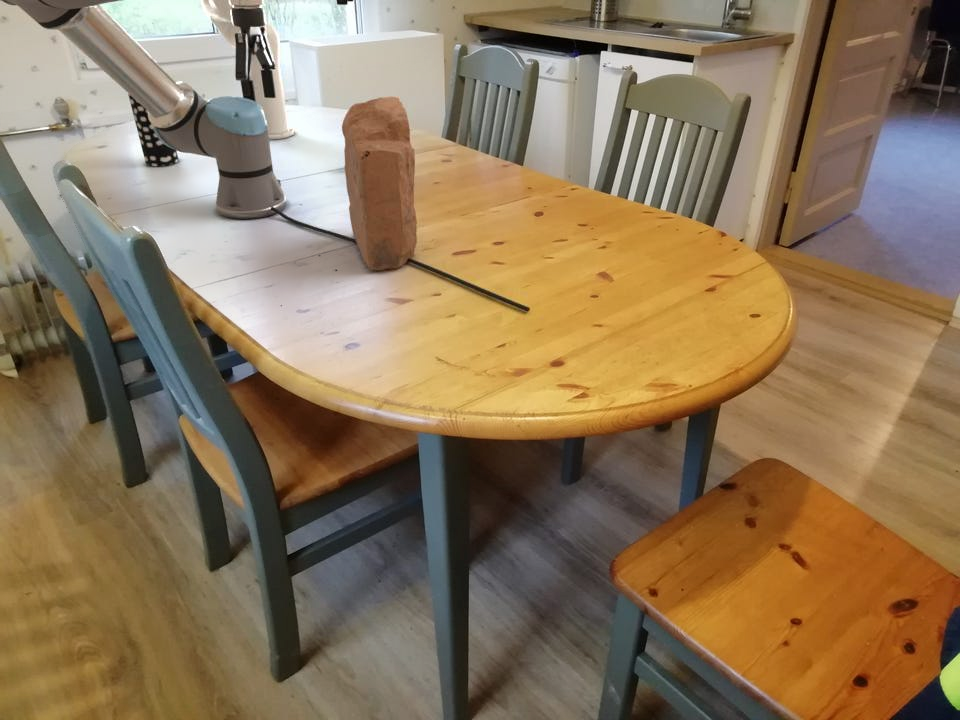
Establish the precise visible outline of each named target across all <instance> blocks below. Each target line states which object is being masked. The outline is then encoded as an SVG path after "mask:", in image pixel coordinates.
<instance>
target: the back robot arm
mask: <svg viewBox="0 0 960 720" xmlns="http://www.w3.org/2000/svg"><path fill="white" fill-rule="evenodd" d="M348 2H350V3H351V2H354V0H336V5H337V6H347V5H348V4H349V3H348ZM201 6H202V9H203V11H204V13H205V15H206V16H207V18H208V19H209V21H211V23H212V24H213V26H214V27H215V28H216V29H217V31H218V32H219V33H220V35H221V36H222V37H223V38H224V39H225V41H226V42H227V43H228V44H229V45H230V46H231V48H233V49H234V50H235V51H236V42H235V33H241V32H240V30H241V29H240V27H236V26H234V25H233V23H232V17H231V11H230V10H231V8H233V6H231V5H230V3H229V0H201ZM261 27H265V29H266V35H267V39H268V42H269V45H270V49H271V52H272V55H273V58H274V62H275V66H276V69H275V70H272V69H271V70H272V72H273V80H274V87H275V94H276V98H265V97H264V90H263V83H262V76H261V70H264V69H262V67H261V65H260V63H259V61H258V59H257V57H256V54H255V55H254V57H253V65H252V74H251V80H253V84H254V91H255V97H256V103H258V104H259V105H260V106H261V107H262V109H263V111H264V116H265V120H266V122H267V130H268V137H269V141H270V140H281V139H286V138H290V137H292V136H293V135H294V134H295V129H294V128H293V127H291V126H289V124H288V116H287V109H286V100H285V93H284V87H283V80H282V73H281V61H280V60H281V59H280V58H281V55H280V54H281V43H280V36H279V34H278V32H277V30H276V29H275V28H274V27H273V26H272V25H271V24H270V23H268V22H266V25H265V26H261Z"/></svg>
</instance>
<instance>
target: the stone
mask: <svg viewBox="0 0 960 720" xmlns="http://www.w3.org/2000/svg"><path fill="white" fill-rule="evenodd" d="M403 105H404V104H403V102H401V101H400V98H399V97H398V96H397V97H396V96H385V97H384V96H383V97H377V98H374V99H369V100H367V101H365V102H357V103H354V104H353V105H351V107H349V109H348V110H347V112H346V114H345V116H344V118H343V120H342V124H341V132H342V135H343V137H344V150H343V151H344V152H343V153H344V173H345V182H346V192H347V196H348V200H349V206H348V212H349V220H350V225H351V230H352V234H353V237H354V239H356V242H357V243H356V245H357V247H358V249H359V251H360V255H361V258H362V260H363V261H364V263H365V264H366V266H367V268H368V269H369V270H370V271H384V270H385V269H386V270H387V269H398V268H400V267H403V266H404V265H405V264H406V263H407V260H408V258H410V259H413V258H414V257H415V250H416V246H417V243H418V236H417V233H418V232H417V231H418V229H417V227H418V226H417V224H418V222H417V216H416V215H417V214H416V213H417V212H416V208H415V173H416V172H415V171H416V169H415V167H416V166H415V163H416V155H415V148H414V147H413V146H412V143H411V129H410V123H409V118H408V114H407V110H406V108H405V107H404V106H403Z"/></svg>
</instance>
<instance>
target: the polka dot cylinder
mask: <svg viewBox="0 0 960 720" xmlns="http://www.w3.org/2000/svg"><path fill="white" fill-rule="evenodd" d="M127 95H128V99H129V103H130V107H131V110H132V115H133V118H134V122H135V123H134V124H135V127H136V130H137V134H138V139H139V143H140V146H141V150H142V155H143V158H144V163H145V164H146V165H147V166H151V167H164V166H170V165H174V164H176V163H178V162H179V155H178V151H176V150H174V149H172V148H170V147H168V146H166V145H165V144H164V143H162V142H161V141H160V140H159V138H158V137H157V136H156V134H155V132H154V130H153V129H154V125H152V123H151V122H150V121H149V118H148V110H147V109H145V108H144V107H143V106H142V105H141V104H140V103H139V102H138V101H137V100H135V99H134V98H133V97H132V96H131V95H130V94H129V93H128V92H127Z"/></svg>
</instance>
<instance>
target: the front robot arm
mask: <svg viewBox="0 0 960 720" xmlns="http://www.w3.org/2000/svg"><path fill="white" fill-rule="evenodd" d="M0 1H1V2H3V3H5V4H7V5H9V6H17V7H18V8H20V9H21V10H22V11H23V12H25V14H27V15H28V16H29V17H30V18H31V19H33V20H34V22H36V23H37V24H38V25H39V26H40V27H42V28H43V29H45V30H49V31H50V30H52V31H53V30H58V31H59V32H60V33H61V34H62V35H63V36H64V37H66V38H67V39H68V41H70V42H71V43H72V44H73V45H74V46H75V47H77V49H79V50H80V51H81V52H82V53H83V54H84V55H86V57H88V59H90V60H91V61H92V62H93V63H94V64H95V65H96V66H98V67H99V68H100V69H101V70H102V71H103V72H104V73H105V74H106V75H108V76H109V77H110V78H111V79H112V80H113V81H114V82H115V83H116V84H117V85H119V86H120V87H121V88H122V89H123V90H124V91H125V92H126V93H127V94H128V93H129V94H130V95H131V96H132V97H133V98H134V99H135V100H137V101H138V102H139V103H140V104H141V105H142V106H143V107H144V108H145V109H147V110H148V118H149V121H150V122H151V123H152V125H154V129H153V130H154V132H155V134H156V136H157V137H158V138H159V140H160V141H161V142H162V143H164V144H165V145H166V146H168V147H170V148H172V149H174V150H176V151H177V152H180V153H184V154H193V155H196V156H197V155H198V156H202V157H208V158H213V159H215V161H216V167H217V169H218V170H217V172H218V185H217V193H216V200H215V206H216V210H217V213H218V214H219V215H221V216H223V217H225V218H229V219H236V220H253V219H260V218H261V219H262V218H265V217H266V218H267V217H270V216H274V215H276V214H277V215H279V216H280V217H281V218H283V219H285V220H287V222H291V223H293V224H295V225H297V226H300V227H302V228H306V229H309V230H312V231H315V232H319V233H322V234H324V235H325V234H326V235H328V236H332V237H336V238H339V239H341V240H344V241H348V242H350V243H354V244H357V242H356V239H355V238H353V237H350V236H347V235H344V234H340V233H338V232H334V231H331V230H327V229H324V228H321V227H317V226H314V225H311V224H308V223H304V222H302V221H299V220H297V219H294V218H292V217H290V216H288V215H286V214H285V213H284V212H283V210H285V209H286V207H287V199H286V194H285V193H284V191H283V189H282V184H281V180H280V179H277V177H276V175H275V172H274V167H273V160H272V152H271V145H270V140H269V137H268V130H267V122H266V120H265V116H264V111H263V109H262V107H261V106H260V105H259V104H258V103H256V97H255V91H254V84H253V80H251V74H252V65H253V57H254V55H255V54H256V57H257V59H258V61H259V63H260V65H261V67H262V69H264V70H261V76H262V83H263V90H264V97H265V98H276V94H275V87H274V80H273V72H272V70H275V69H276V66H275V62H274V58H273V55H272V52H271V49H270V45H269V42H268V39H267V35H266V29H265V27H261V26H265V25H266V23H267V20H266V19H267V18H266V14H265V13H266V11H265V8H264V7H262V6H263V5H264V0H229V3H230V5H231V6H233V8H231V10H230V11H231V17H232V23H233V25H234V26H236V27H240V29H241V30H240V32H241V33H235V42H236V50H235V69H234V70H235V71H234V72H235V73H234V74H235V75H234V76H235V80H236V81H239V82H240V86H241V92H242V97H241V96H235V97H234V96H231V95H228V96H226V95H225V96H216V97H213V98H210V99H209V100H205V99H204V98H203V97H201V95H200V94H199V93H198V92H197V91H196V90H194V88H192V86H191V85H190V84H188V83H187V82H183V81H176V80H175V79H174V78H173V77H172V76H171V75H170V74H169V73H168V72H167V71H166V70H165V69H164V68H163V67H162V66H161V65H160V64H159V63H158V62H157V61H156V60H155V59H154V58H153V57H152V56H151V55H150V54H149V53H148V52H147V51H146V49H144V48H143V47H142V46H141V45H140V44H139V43H138V42H137V41H136V40H135V39H134V38H133V37H132V36H131V35H130V34H129V32H127V31H126V29H124V28H123V27H122V26H121V25H120V24H119V22H117V21H116V20H115V19H114V18H113V17H112V16H111V15H110V14H109V13H108V12H107V11H106V9H104V8H103V7H102V6H101V5H103V4H109V3H116V2H122V1H123V0H0ZM271 69H272V70H271ZM407 262H408V263H410V264H411V265H412V264H413V265H415V266H418V267H420V268H422V269H425V270H427V271H429V272H432V273H435V274H438V275H439V276H441V277H444V278H447V279H449V280H450V281H452V282H453V281H454V282H456V283H458V284H460V285H463V286H465V287H466V288H470V289H472V290H474V291H476V292H479V293H481V294H483V295H487V296H488V297H491V298H493V299H496V300H498V301H500V302H503V303H505V304H508V305H510V306H511V307H515V308H518V309H519V310H523V311H524V312H527V313H528V312H530V310H531V308H530V307H529V306H526V305H524V304H521V303H519V302H517V301H515V300H512V299H509V298H507V297H504V296H502V295H500V294H497V293H495V292H492V291H490V290H487V289H485V288H483V287H480V286H478V285H475V284H473V283H471V282H468V281H466V280H465V279H461V278H459V277H458V276H455V275H452V274H450V273H447V272H445V271H443V270H441V269H437V268H435V267H433V266H431V265H429V264H425V263H423V262H420V261H418V260H415V259H413V258H412V259H410V258H408V260H407ZM407 262H406V263H407Z"/></svg>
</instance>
